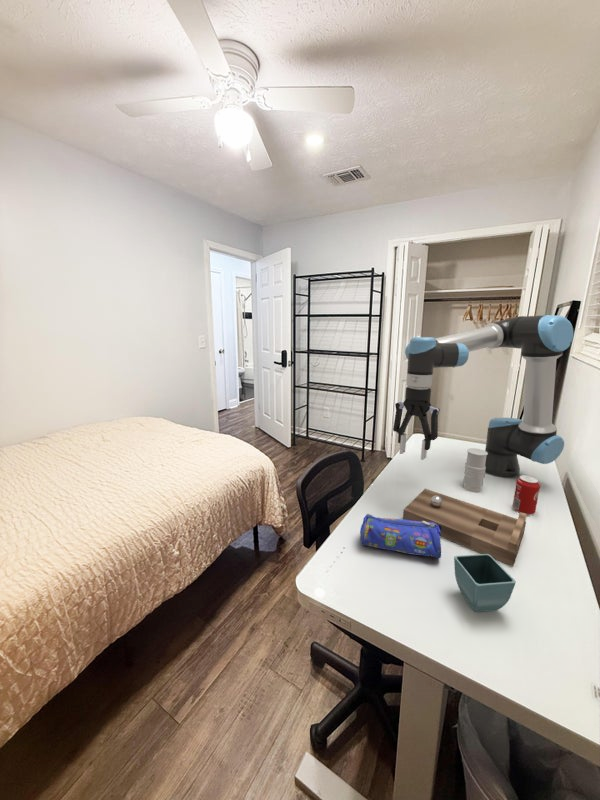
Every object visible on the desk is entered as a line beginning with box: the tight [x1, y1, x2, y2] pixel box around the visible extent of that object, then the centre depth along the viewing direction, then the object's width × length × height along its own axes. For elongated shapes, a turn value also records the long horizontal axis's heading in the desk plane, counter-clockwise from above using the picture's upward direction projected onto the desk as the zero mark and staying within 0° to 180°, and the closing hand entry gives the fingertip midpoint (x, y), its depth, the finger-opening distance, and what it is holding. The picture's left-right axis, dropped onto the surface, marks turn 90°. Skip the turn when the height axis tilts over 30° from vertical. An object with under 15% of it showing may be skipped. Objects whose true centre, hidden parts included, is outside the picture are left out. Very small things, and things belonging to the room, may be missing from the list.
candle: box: [463, 447, 488, 493], centre depth 120 cm, size 7×7×15 cm
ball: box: [431, 495, 443, 507], centre depth 102 cm, size 4×4×4 cm
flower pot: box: [453, 553, 517, 613], centre depth 71 cm, size 9×9×9 cm
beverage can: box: [512, 475, 541, 517], centre depth 105 cm, size 6×6×12 cm
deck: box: [402, 488, 527, 567], centre depth 98 cm, size 18×30×6 cm, turn 48°
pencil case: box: [359, 513, 442, 560], centre depth 88 cm, size 22×9×10 cm, turn 75°
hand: (412, 455), depth 105 cm, fingers open, 6 cm apart
